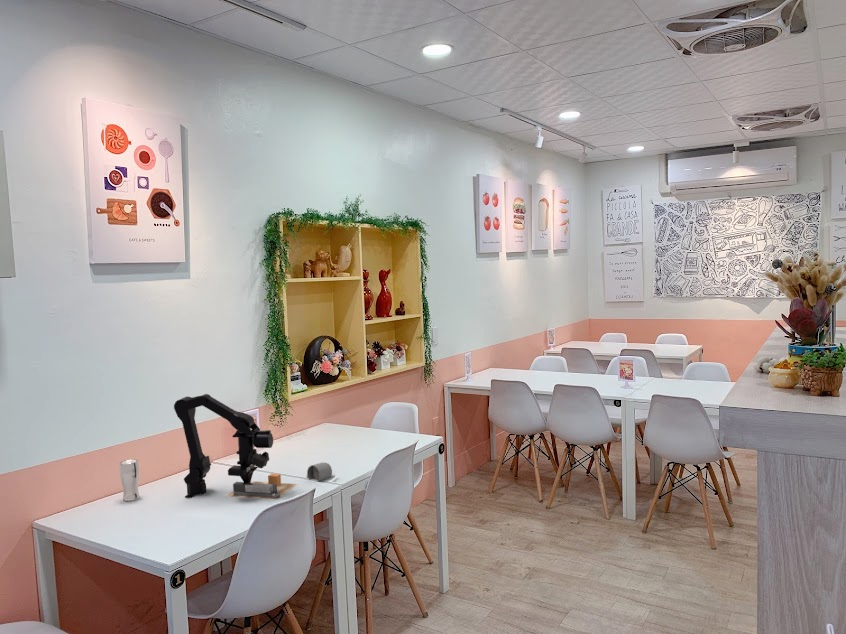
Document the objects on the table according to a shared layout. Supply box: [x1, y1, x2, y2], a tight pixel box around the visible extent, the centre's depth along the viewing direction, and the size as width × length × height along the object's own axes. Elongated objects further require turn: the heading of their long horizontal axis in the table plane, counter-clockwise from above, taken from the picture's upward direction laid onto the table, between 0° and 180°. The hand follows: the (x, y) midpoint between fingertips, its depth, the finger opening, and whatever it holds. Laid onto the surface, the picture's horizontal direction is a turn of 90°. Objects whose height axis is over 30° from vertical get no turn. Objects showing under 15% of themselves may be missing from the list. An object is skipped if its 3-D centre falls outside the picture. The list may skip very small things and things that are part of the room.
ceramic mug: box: [306, 462, 333, 483], centre depth 272 cm, size 11×8×8 cm
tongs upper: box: [232, 481, 273, 493], centre depth 252 cm, size 16×3×3 cm, turn 75°
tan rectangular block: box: [267, 473, 282, 486], centre depth 265 cm, size 4×3×4 cm
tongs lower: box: [232, 484, 281, 500], centre depth 252 cm, size 19×4×5 cm, turn 75°
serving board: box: [226, 480, 298, 501], centre depth 259 cm, size 22×18×1 cm
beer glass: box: [119, 458, 140, 503], centre depth 256 cm, size 7×7×15 cm
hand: (247, 486), depth 256 cm, fingers closed
